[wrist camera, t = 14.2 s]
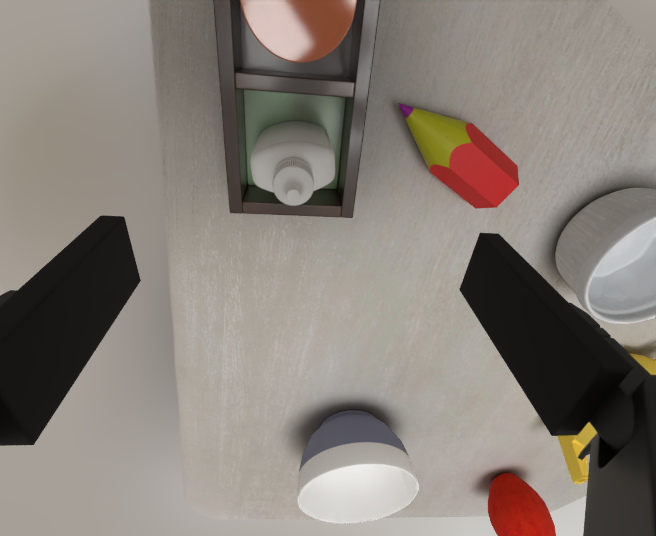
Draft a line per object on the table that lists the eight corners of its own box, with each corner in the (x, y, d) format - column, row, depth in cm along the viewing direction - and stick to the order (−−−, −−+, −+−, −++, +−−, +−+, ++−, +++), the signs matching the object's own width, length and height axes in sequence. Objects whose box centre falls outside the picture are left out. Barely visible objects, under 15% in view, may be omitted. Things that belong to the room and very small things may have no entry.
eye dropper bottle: (272, 99, 27) (258, 134, 17) (335, 132, 29) (357, 181, 19) (252, 151, 29) (230, 209, 19) (313, 179, 31) (321, 245, 21)
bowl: (317, 386, 47) (321, 456, 39) (419, 404, 51) (441, 471, 43) (283, 450, 55) (281, 519, 47) (374, 461, 59) (386, 527, 51)
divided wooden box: (377, -80, 23) (394, -104, 19) (345, 197, 33) (352, 218, 29) (219, -101, 22) (203, -132, 18) (237, 192, 32) (229, 213, 28)
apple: (473, 470, 64) (507, 552, 53) (527, 458, 63) (572, 538, 53) (476, 494, 69) (507, 572, 59) (526, 483, 68) (567, 561, 58)
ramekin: (546, 301, 42) (587, 342, 36) (535, 210, 35) (583, 244, 30) (663, 258, 40) (726, 295, 34) (676, 152, 33) (757, 176, 27)
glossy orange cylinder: (344, -45, 23) (365, -80, 16) (336, 60, 26) (350, 67, 20) (252, -56, 22) (234, -97, 16) (255, 53, 26) (241, 58, 19)
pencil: (411, 72, 28) (428, 76, 24) (505, 159, 32) (530, 173, 29) (372, 124, 30) (383, 136, 26) (466, 199, 34) (485, 217, 31)
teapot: (634, 406, 56) (708, 485, 46) (531, 425, 57) (581, 507, 47) (671, 331, 47) (772, 409, 37) (547, 354, 48) (614, 438, 38)
